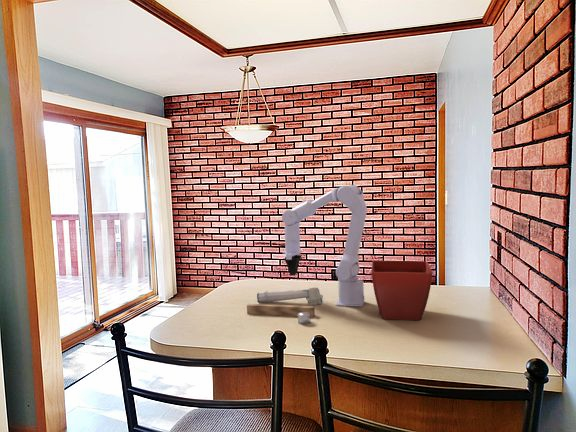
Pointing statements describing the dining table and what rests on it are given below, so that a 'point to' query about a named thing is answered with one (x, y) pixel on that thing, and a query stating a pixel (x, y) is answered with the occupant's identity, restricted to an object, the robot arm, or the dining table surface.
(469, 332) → the dining table surface
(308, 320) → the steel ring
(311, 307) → the brown wooden bar
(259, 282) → the dining table surface
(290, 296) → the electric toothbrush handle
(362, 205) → the robot arm
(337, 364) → the dining table surface
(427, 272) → the plant pot
